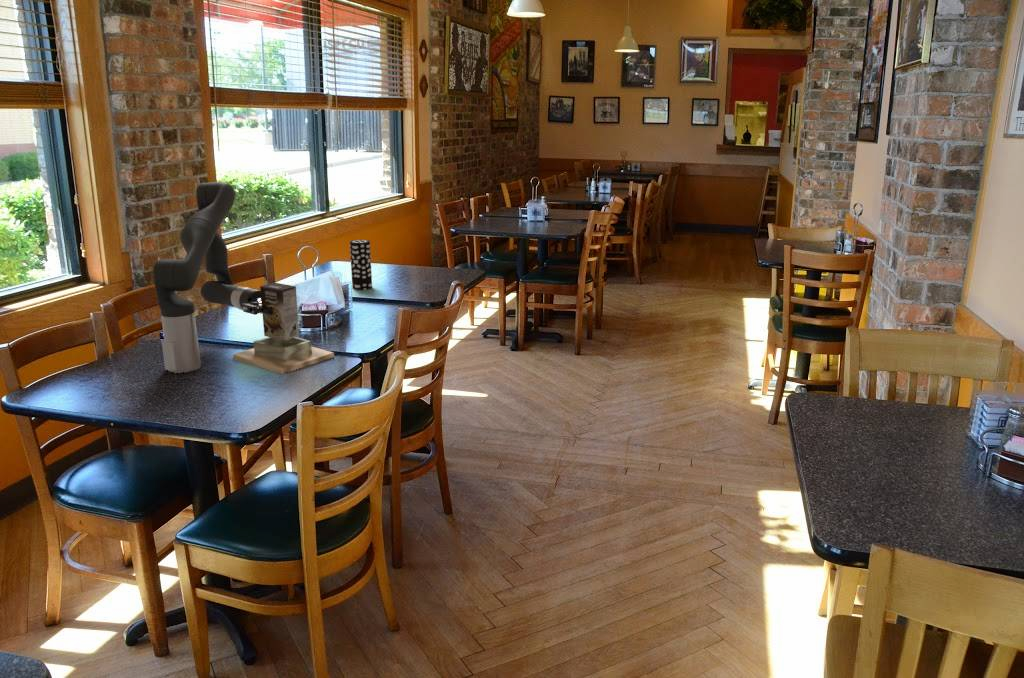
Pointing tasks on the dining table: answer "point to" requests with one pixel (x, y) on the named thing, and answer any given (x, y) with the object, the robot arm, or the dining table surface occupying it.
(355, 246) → the white-spotted black cylinder
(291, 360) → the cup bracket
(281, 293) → the coffee box
